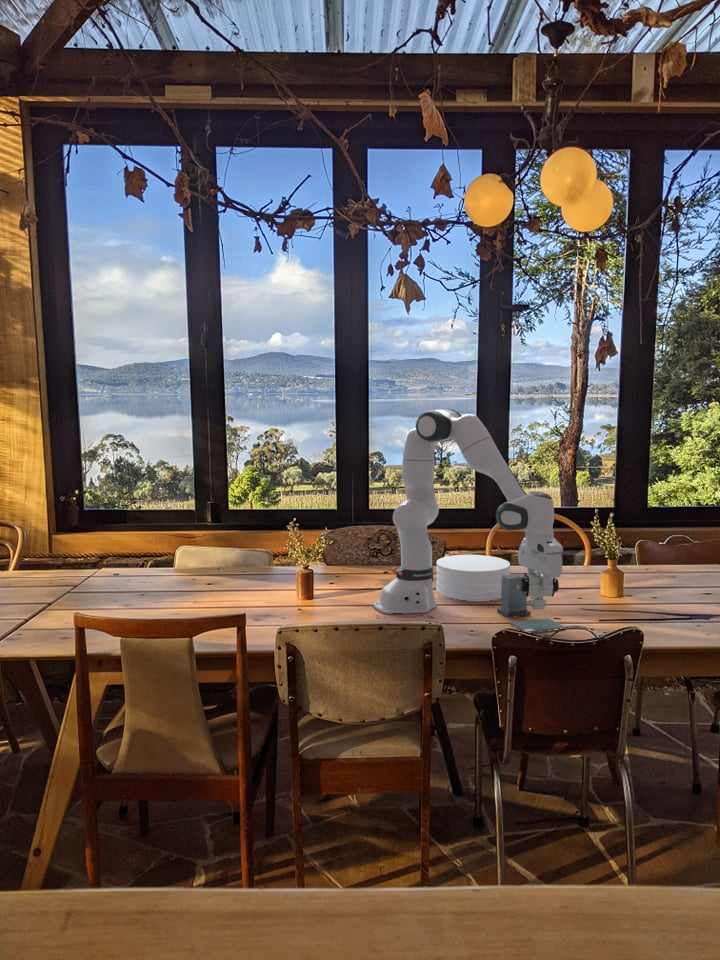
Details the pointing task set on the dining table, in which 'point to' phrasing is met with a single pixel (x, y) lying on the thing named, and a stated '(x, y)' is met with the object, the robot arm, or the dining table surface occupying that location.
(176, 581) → the dining table surface
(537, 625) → the mat
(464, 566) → the plate stack
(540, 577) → the pneumatic valve
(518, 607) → the block
